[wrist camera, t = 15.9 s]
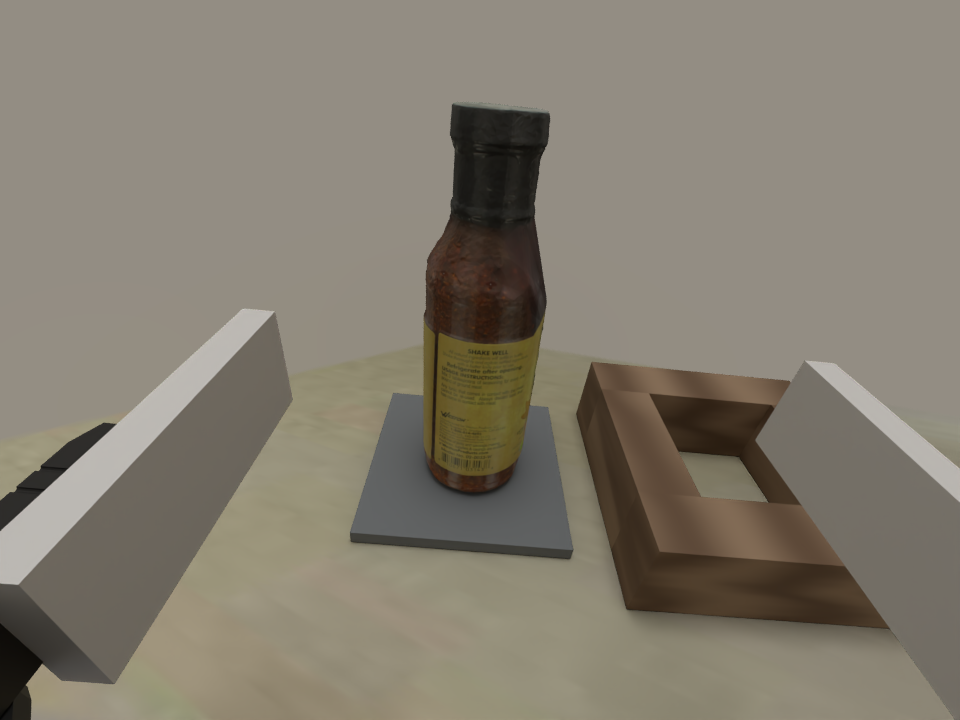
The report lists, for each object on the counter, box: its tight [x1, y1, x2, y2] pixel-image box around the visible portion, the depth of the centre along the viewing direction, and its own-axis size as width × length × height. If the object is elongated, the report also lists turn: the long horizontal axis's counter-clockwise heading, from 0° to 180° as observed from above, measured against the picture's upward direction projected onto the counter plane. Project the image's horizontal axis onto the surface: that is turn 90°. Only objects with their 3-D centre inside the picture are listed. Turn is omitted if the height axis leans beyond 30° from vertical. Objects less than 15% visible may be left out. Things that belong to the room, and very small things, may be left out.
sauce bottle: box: [423, 102, 550, 493], centre depth 22 cm, size 6×6×20 cm
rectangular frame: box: [576, 362, 889, 628], centre depth 27 cm, size 15×15×5 cm
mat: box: [350, 393, 573, 559], centre depth 28 cm, size 12×12×1 cm
